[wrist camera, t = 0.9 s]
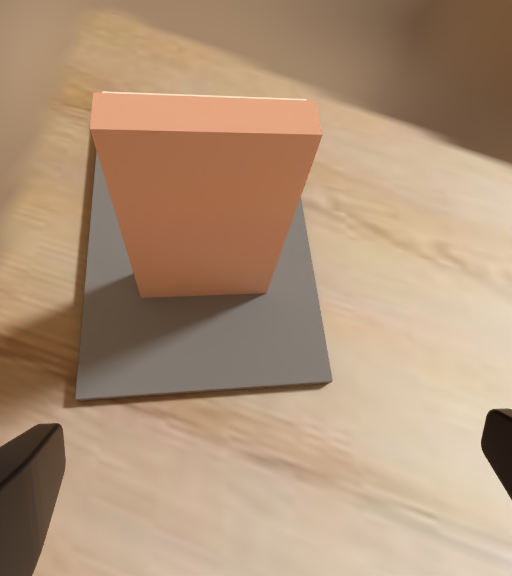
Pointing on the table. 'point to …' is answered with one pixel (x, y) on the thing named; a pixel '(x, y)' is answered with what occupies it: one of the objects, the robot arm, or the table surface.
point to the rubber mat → (194, 324)
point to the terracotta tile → (204, 185)
